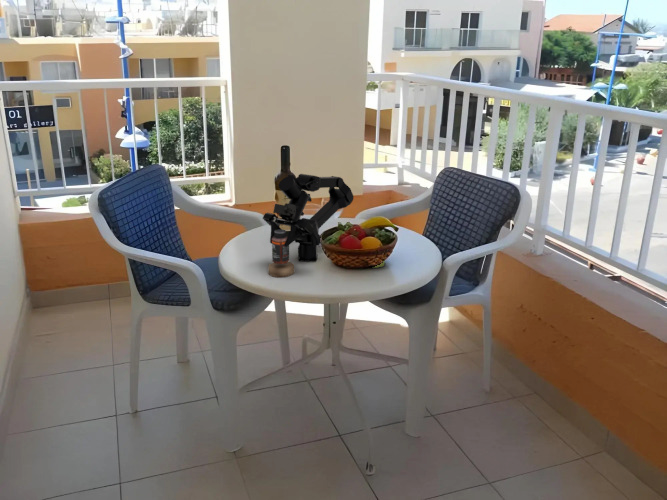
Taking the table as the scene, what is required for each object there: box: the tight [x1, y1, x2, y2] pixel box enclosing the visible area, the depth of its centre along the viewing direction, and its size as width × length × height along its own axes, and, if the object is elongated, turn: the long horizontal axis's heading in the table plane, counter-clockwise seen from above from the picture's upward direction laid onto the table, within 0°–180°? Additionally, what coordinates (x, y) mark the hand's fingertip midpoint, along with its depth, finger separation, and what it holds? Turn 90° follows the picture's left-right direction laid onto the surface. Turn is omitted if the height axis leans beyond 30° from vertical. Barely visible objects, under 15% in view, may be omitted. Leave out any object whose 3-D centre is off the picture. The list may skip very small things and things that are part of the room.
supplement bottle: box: [271, 228, 290, 264], centre depth 200 cm, size 6×6×11 cm
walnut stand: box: [268, 261, 295, 278], centre depth 203 cm, size 9×9×2 cm
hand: (278, 244), depth 199 cm, fingers closed on supplement bottle, 6 cm apart
